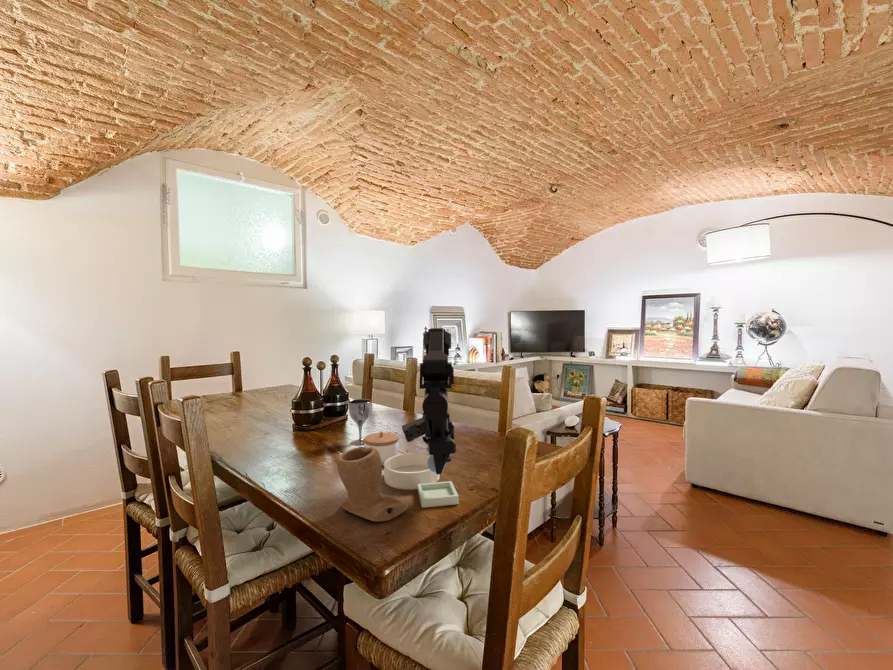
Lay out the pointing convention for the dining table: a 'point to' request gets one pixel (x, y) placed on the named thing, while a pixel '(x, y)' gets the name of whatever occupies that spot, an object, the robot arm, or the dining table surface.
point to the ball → (432, 464)
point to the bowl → (408, 471)
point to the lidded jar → (383, 444)
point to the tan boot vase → (366, 485)
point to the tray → (437, 494)
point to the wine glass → (359, 415)
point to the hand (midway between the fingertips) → (437, 470)
